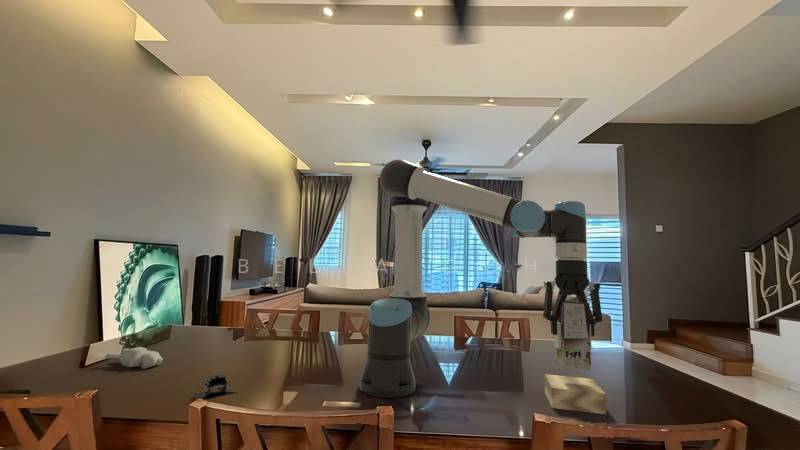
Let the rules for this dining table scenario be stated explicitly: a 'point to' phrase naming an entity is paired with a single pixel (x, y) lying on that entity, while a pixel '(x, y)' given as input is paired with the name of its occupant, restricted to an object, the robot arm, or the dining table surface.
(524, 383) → the dining table surface
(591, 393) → the beech block
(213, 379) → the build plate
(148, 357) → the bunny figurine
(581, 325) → the coffee box
